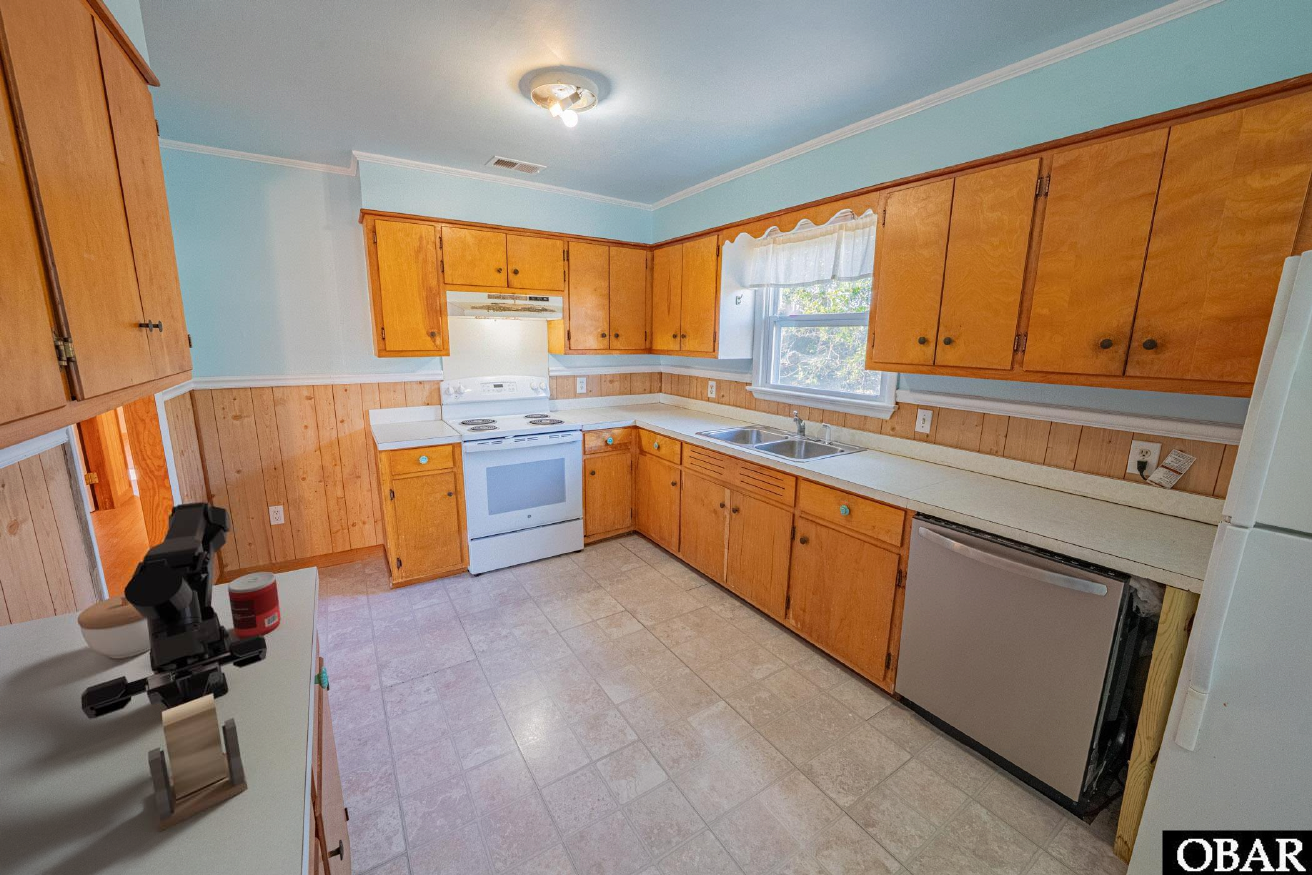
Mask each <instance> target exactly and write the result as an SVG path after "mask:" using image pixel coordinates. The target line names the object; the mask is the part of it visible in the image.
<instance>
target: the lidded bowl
mask: <svg viewBox="0 0 1312 875" xmlns="http://www.w3.org/2000/svg"><path fill="white" fill-rule="evenodd" d="M77 623H78V625H79V627H80V631H81V635H82V638H83V639H84V641H85V642H86V644H87V645H88V646H87V647H89V648H90V649H92V650H93V651H94V652H95V653H97V654H99V655H104V656H107V657H109V658H111V659H114V660H115V659H116V660H117V659H118V660H119V659H125V658H131V657H135V656H138V655H141V654H143V653H146V652H148V651H150V650H151V647H150V640H149V632H148V625H147V617H143V616H142V615H141V614H140V613H139V612H138V611H137V610H136V609H135V608H134V607H133V606H132V605H131V604H130V603H129V602H128V601H127V599H126V597H125V593H121V594H117V595H115V596H113V597H109V598H107V599H104V600H101V601H98V602H97V603H95V604H92V605H89V607H87V608H85V609H84V610H83V611H82V612H80V613H79V615H78V617H77Z"/></svg>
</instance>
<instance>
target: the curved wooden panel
mask: <svg viewBox="0 0 1312 875" xmlns="http://www.w3.org/2000/svg"><path fill="white" fill-rule="evenodd" d="M214 698H215V697H213V693H212V694H210V695H207V696H204V697H201V698H199V699H196V700H193V701H190V702H188V703H185V704H182V705H179V706H177V707H174V708H171V709H168V708H167V709H166V710H163V711H161V716H162V730H163V734H164V740H165V743H166V744H165V746H166V749H167V754H168V755H167V756H168V761H169V765H170V771H171V776H172V777H173V782H174V788H175V793H176V798H177V799H178V798H180V797H182V796H185V795H187V794H189V793H191V792H193V791H195V790H198V789H200V788H202V787H204V786H206V785H208V784H211V783H213V782H215V781H217V780H219V779H221V778H224V777H226V776H227V775H226V769H225V762H224V756H223V754H224V752H223V744H222V740H221V739H222V738H221V734H220V727H219V720H218V715H217V708H216V704H215V703H216V702H215V699H214Z"/></svg>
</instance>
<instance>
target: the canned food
mask: <svg viewBox="0 0 1312 875" xmlns="http://www.w3.org/2000/svg"><path fill="white" fill-rule="evenodd" d="M277 584H278V583H277V577H276V575H275V574H274V573H273V572H270V571H260V572H252V573H248V574H246V575H242V576H240V577H238V578H235V579H234V580H232V581H231V582H229V583H228V585H227V591H228V598H229V599H228V600H229V603H230V611H231V617H232V623H233V630H234V634H235V635H236V637H237V638H240V639H244V638H247V637H250V636H253V635H256V634H260V635H262V636H265V635H267V634H269V633H271V632H273V631H274V630H275V629H277V628H278V627H279V626H280V623H281V619H282V617H281V610H280V609H281V608H280V603H279V602H280V601H279V593H278V592H279V591H278V585H277Z"/></svg>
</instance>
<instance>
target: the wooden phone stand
mask: <svg viewBox="0 0 1312 875" xmlns="http://www.w3.org/2000/svg"><path fill="white" fill-rule="evenodd" d="M223 723H224V725H222V726H221V730H222V734H223V742H224V748H225V749H224V750H225V752H223V756H224V762H225V769H226V775H227V776H226V777H224V778H221V779H219V780H217V781H215V782H213V783H211V784H208V785H206V786H204V787H202V788H200V789H198V790H195V791H193V792H191V793H189V794H187V795H185V796H182V797H180V798H178V799H177V798H176V793H175V788H174V782H173V777H172V775H170V776H169V772H168V771H169V770H168V766H167V761H166V756H165V750H164V749H163V750H161V749H160V747H156V748H154V749H151V750H149V751H147V757H148V759H147V760H148V767H149V771H150V777H151V781H152V782H151V783H152V786H153V790H154V797H155V801H156V805H157V806H156V808H157V824H158V829H159V832H162V831H164V830H165V829H168V828H170V827H172V826H174V825H176V824H178V823H179V822H181V821H184V820H186V819H188V818H190V817H192V816H195V815H196V814H199V813H201V812H202V811H205V810H207V809H209V808H211V807H213V806H215V805H217V804H219V803H221V802H223V801H225V800H227V799H229V798H231V797H233V796H235V795H238V794H240V793H242V792H244V791H246V790H248V782H247V778H246V774H245V770H244V765H243V761H242V758H241V750H240V744H239V737H238V731H237V726H236V725H237V724H236V721H235V717H231V718H229V719H227V720H224V722H223Z"/></svg>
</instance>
